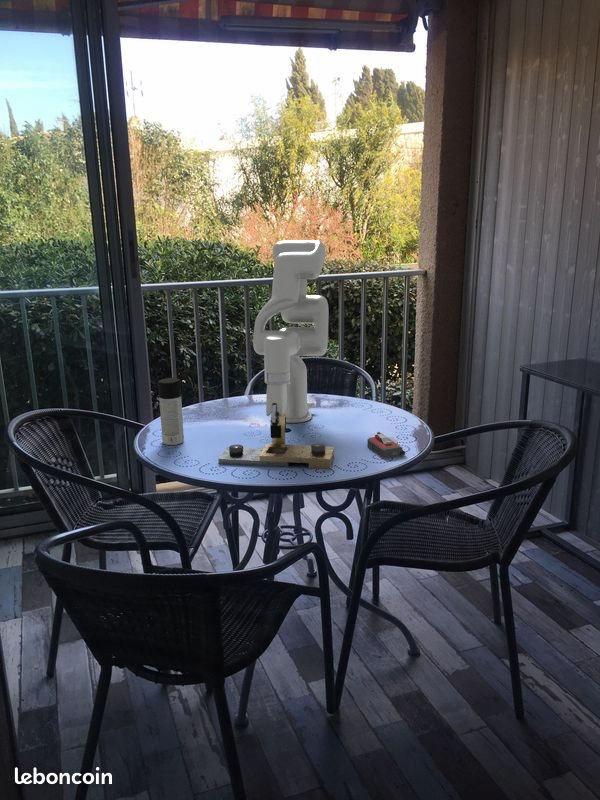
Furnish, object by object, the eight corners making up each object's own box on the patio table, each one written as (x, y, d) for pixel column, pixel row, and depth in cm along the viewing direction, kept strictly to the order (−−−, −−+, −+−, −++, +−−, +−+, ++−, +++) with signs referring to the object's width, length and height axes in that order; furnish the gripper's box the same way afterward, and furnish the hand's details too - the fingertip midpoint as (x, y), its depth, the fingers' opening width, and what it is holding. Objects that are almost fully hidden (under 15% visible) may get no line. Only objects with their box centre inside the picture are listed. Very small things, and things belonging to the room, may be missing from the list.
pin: (278, 441, 207) (277, 404, 204) (287, 444, 205) (287, 407, 201) (269, 445, 204) (268, 407, 201) (279, 448, 202) (278, 410, 198)
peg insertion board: (227, 451, 199) (227, 435, 198) (334, 456, 194) (334, 440, 193) (218, 463, 190) (217, 447, 188) (330, 469, 185) (330, 452, 183)
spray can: (188, 441, 209) (184, 379, 203) (173, 447, 203) (168, 384, 198) (173, 437, 212) (169, 376, 207) (157, 443, 207) (153, 381, 202)
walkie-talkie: (411, 457, 194) (380, 436, 212) (412, 442, 193) (381, 423, 211) (384, 461, 191) (355, 439, 209) (385, 446, 190) (355, 426, 208)
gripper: (270, 370, 207) (272, 424, 212) (258, 384, 191) (260, 442, 196) (294, 370, 206) (295, 425, 211) (284, 384, 190) (285, 443, 194)
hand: (278, 433), depth 203 cm, fingers open, 7 cm apart
